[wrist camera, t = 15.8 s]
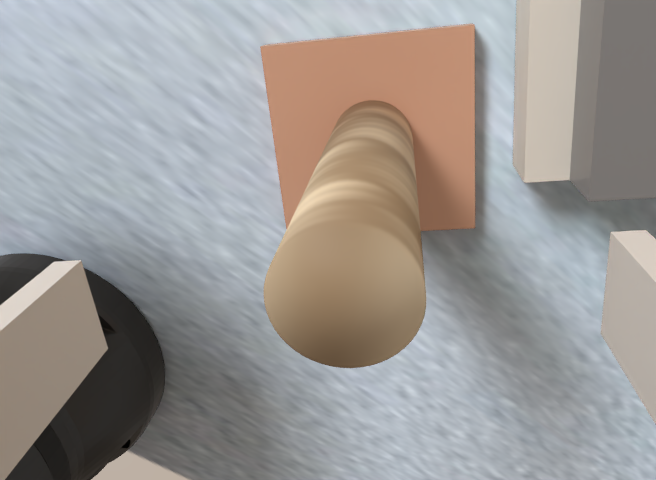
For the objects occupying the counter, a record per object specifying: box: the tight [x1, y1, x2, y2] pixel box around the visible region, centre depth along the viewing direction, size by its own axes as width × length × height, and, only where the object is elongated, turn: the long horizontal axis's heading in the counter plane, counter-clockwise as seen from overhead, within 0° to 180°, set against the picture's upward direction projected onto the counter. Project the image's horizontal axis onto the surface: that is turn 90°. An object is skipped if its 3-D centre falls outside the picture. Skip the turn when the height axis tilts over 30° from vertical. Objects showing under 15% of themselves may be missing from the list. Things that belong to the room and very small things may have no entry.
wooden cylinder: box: [264, 100, 426, 368], centre depth 21 cm, size 4×4×16 cm
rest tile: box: [260, 24, 475, 231], centre depth 29 cm, size 10×10×1 cm
